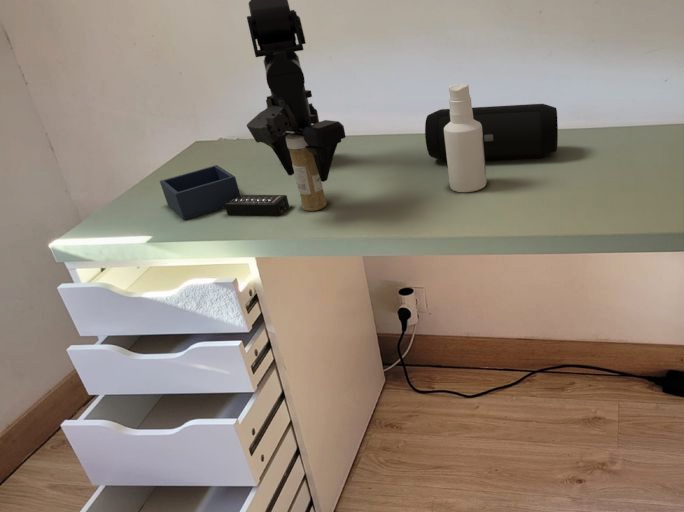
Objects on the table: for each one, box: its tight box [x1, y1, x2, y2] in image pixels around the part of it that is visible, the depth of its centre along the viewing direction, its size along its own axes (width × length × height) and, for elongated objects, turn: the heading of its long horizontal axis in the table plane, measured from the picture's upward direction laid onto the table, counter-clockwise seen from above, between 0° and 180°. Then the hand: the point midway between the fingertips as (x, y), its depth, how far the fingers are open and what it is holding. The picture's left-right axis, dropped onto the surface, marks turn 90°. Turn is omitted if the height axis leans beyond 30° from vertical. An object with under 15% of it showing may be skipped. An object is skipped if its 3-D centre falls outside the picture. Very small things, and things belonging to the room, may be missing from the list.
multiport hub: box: [224, 194, 290, 217], centre depth 131 cm, size 4×11×2 cm, turn 75°
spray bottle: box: [444, 83, 488, 193], centre depth 127 cm, size 7×7×18 cm
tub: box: [159, 164, 241, 221], centre depth 136 cm, size 11×10×5 cm
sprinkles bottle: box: [286, 134, 328, 212], centre depth 127 cm, size 5×5×14 cm
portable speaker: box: [424, 103, 559, 162], centre depth 141 cm, size 26×10×10 cm, turn 81°
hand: (307, 177), depth 127 cm, fingers open, 9 cm apart
